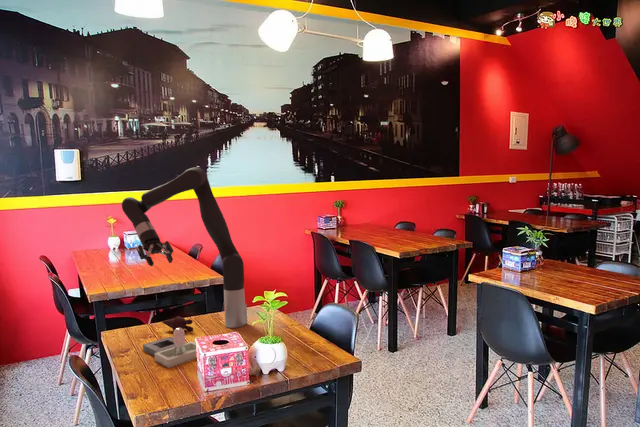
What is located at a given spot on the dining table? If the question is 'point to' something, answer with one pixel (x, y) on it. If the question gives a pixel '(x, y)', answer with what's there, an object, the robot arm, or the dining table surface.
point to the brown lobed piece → (179, 323)
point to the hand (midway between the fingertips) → (161, 263)
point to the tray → (170, 360)
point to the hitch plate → (159, 345)
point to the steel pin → (179, 341)
